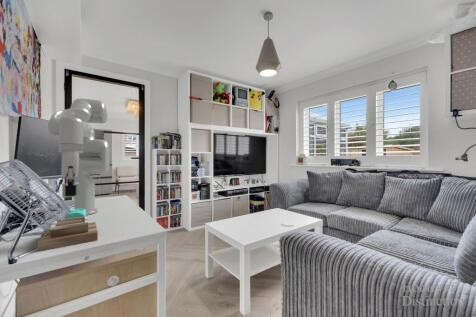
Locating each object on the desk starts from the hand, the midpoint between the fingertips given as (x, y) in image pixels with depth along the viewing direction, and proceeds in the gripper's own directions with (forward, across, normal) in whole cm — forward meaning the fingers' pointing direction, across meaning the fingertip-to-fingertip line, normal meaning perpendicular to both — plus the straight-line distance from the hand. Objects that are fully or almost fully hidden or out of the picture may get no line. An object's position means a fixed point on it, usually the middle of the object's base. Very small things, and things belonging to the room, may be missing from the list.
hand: (70, 194), depth 84 cm
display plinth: (+18, 0, 0) cm, 18 cm away
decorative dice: (+18, -14, +1) cm, 23 cm away
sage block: (+1, 0, 0) cm, 1 cm away
